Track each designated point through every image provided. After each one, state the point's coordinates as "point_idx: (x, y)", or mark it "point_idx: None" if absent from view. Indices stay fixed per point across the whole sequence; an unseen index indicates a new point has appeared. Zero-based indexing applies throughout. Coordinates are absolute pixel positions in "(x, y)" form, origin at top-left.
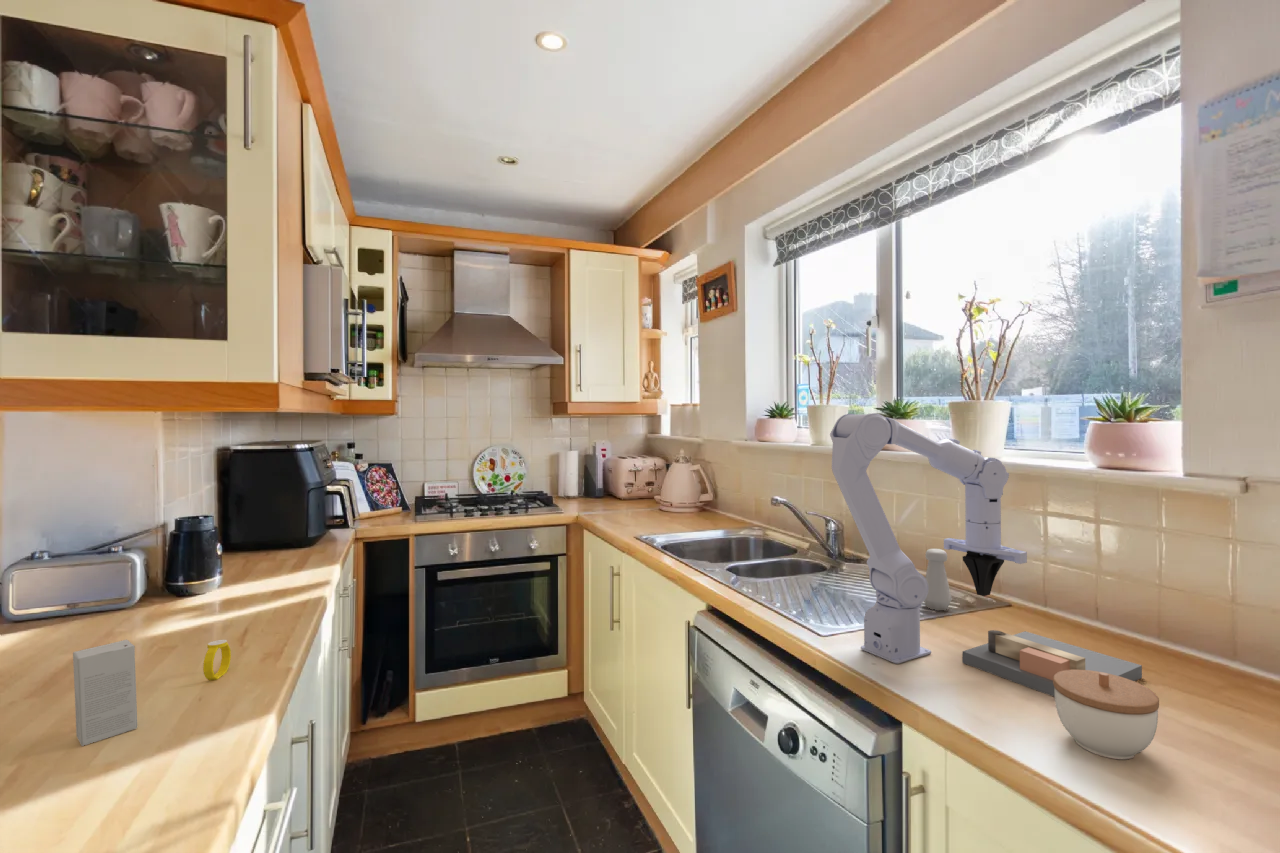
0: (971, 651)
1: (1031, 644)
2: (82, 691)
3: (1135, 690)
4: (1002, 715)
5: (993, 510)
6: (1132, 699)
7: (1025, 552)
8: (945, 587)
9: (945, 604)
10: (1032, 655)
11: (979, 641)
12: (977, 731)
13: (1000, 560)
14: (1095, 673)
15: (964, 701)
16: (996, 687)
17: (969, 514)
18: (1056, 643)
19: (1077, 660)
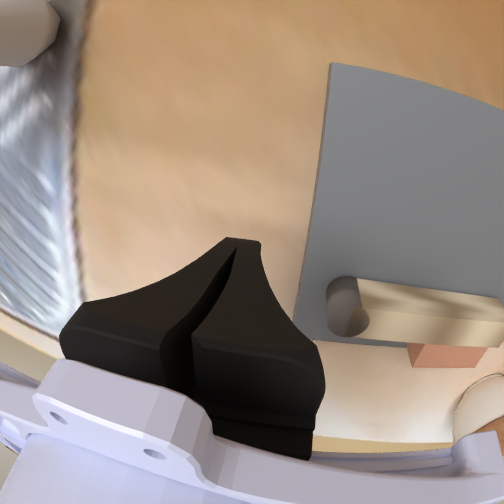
0: (304, 326)
1: (431, 334)
2: None
3: None
4: (396, 408)
5: None
6: None
7: (498, 502)
8: (13, 25)
9: (51, 30)
10: (433, 366)
11: (245, 165)
12: (380, 436)
13: (314, 416)
14: (501, 431)
15: (352, 410)
16: (374, 361)
17: None
18: (435, 112)
19: (500, 344)
